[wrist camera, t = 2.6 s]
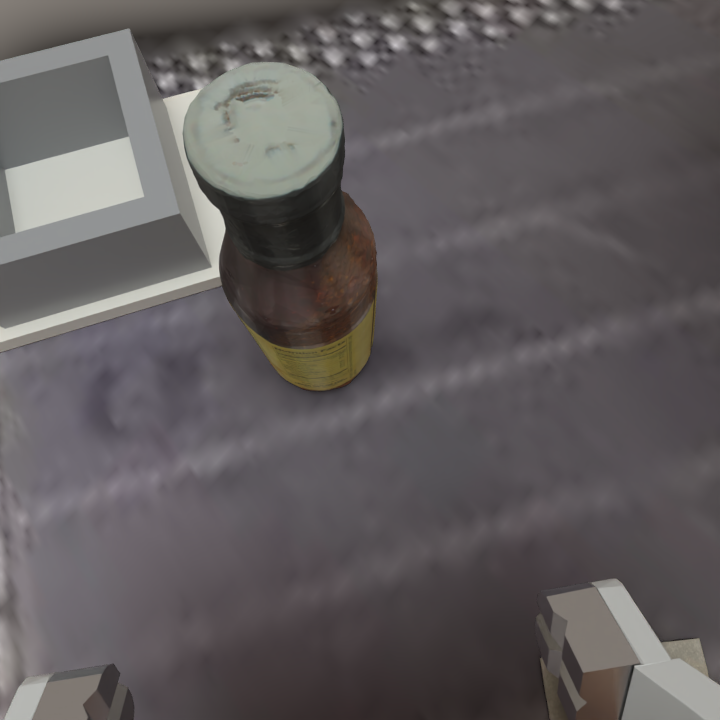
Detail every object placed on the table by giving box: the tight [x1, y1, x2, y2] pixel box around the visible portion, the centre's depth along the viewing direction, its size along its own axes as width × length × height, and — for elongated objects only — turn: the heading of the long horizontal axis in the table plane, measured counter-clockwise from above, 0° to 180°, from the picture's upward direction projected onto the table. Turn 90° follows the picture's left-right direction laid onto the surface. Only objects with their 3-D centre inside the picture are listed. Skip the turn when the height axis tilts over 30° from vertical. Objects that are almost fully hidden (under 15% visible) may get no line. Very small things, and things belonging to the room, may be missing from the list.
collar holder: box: [0, 29, 226, 352], centre depth 31 cm, size 18×14×7 cm
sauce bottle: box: [182, 62, 377, 391], centre depth 23 cm, size 7×6×20 cm
